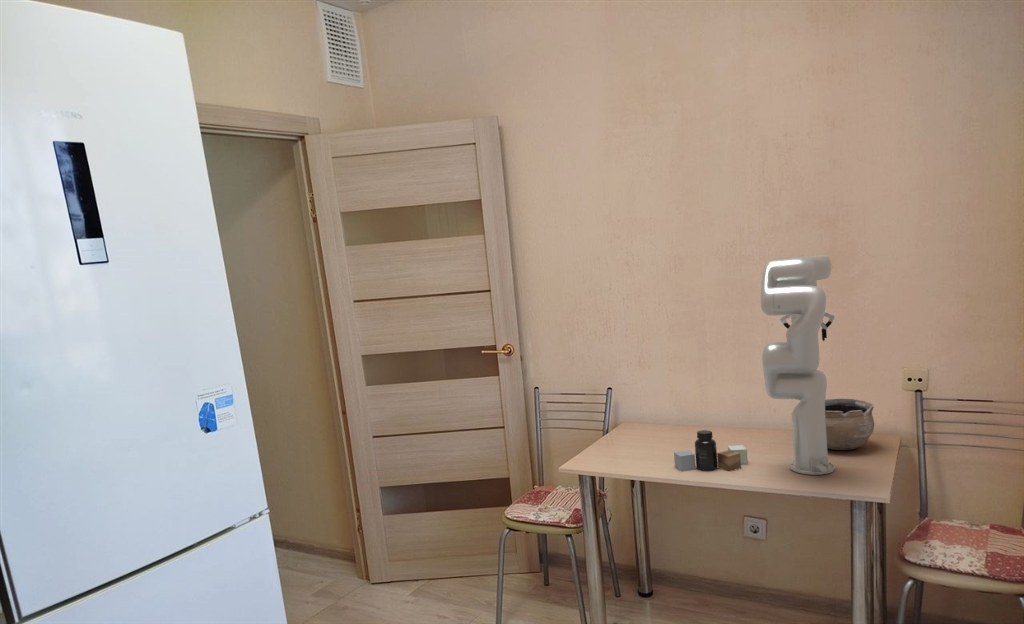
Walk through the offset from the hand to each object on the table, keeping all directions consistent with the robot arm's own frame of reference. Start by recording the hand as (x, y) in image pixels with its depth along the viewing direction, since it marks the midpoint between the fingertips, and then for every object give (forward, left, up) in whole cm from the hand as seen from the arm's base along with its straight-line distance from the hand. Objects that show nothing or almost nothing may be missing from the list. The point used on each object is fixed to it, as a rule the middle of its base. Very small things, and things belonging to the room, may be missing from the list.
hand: (808, 340), depth 225 cm
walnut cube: (-17, +38, -36) cm, 56 cm away
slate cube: (-12, +52, -36) cm, 64 cm away
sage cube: (-12, +34, -36) cm, 51 cm away
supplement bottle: (-15, +45, -37) cm, 60 cm away
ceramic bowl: (-9, -4, -37) cm, 38 cm away
